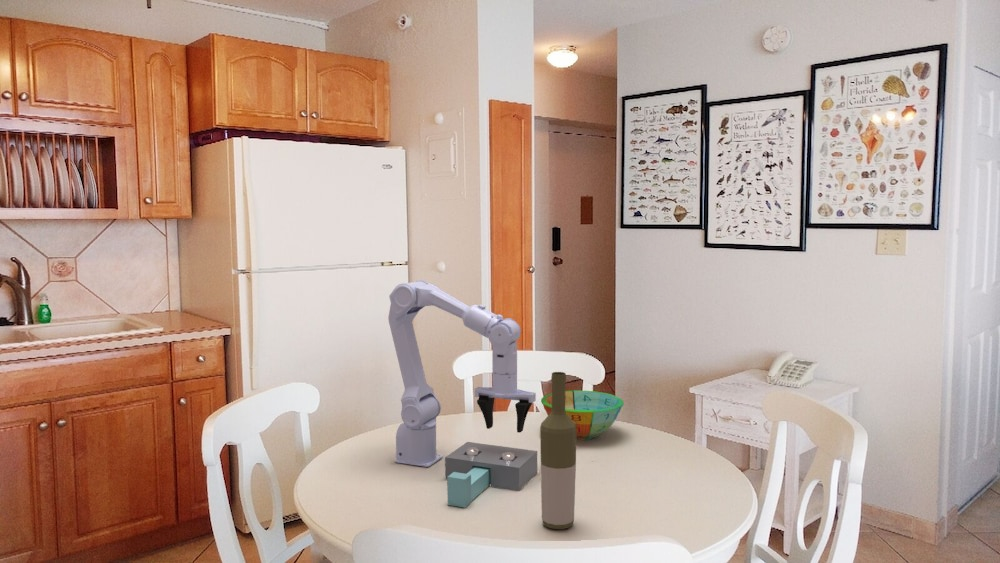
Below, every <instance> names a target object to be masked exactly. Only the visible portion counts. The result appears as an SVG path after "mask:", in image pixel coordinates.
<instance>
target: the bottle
mask: <svg viewBox="0 0 1000 563" xmlns="http://www.w3.org/2000/svg"><path fill="white" fill-rule="evenodd" d="M550 381H551V393H552V411H551V413H550V414H549V415H547V416H546V418H545V419H544V420H543V421H542V422H541V423H540V427H539V430H540V483H541V484H540V489H541V491H540V492H541V495H540V496H541V518H542V519H541V520H542V524H543V526H545V527H547V528H549V529H554V530H565V529H568V528H571V527H572V525H574V522H575V505H576V504H575V501H576V499H575V498H576V496H575V495H576V467H577V439H576V435H577V429H576V425H575V423H574V422H573V421H572V419H571V418H570V417H569V416H568V415H567V414H566V411H565V391H566V383H567V376H566V372H563V371H554V372H551V380H550Z"/></svg>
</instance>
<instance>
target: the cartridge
mask: <svg viewBox="0 0 1000 563" xmlns="http://www.w3.org/2000/svg"><path fill="white" fill-rule="evenodd" d="M446 481H447V488H446V490H447V505H448V506H452V507H458V508H459V507H460V508H464V509H466V508H467V506H469V505H470V504H471V503H472V501H474V500H475V498H477V497H478V496H479V495H480V494H482V493H483V492H484V491H485V489H486V488H488V487H489V486H491V473H490V468H486V467H479V466H476V467H474V468H473V469H472V470H471V471H469V472H468V473H467V474H464V473H458V472H453V473H452V474H450V475H449V476H448V477H447V480H446Z"/></svg>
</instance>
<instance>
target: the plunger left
mask: <svg viewBox="0 0 1000 563" xmlns="http://www.w3.org/2000/svg"><path fill="white" fill-rule="evenodd" d="M466 455H471V456H477V455H478V448H475V447H470V448H467V449H466Z"/></svg>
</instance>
